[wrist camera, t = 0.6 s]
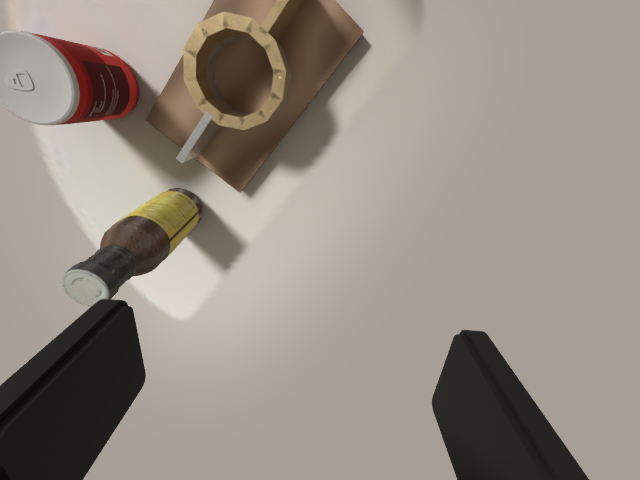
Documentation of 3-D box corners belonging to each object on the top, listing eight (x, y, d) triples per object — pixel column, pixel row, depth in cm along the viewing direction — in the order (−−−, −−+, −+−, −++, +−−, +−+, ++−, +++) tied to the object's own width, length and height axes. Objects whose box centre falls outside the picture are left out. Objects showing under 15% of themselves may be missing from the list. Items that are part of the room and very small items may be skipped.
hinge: (164, 125, 38) (137, 130, 32) (270, -53, 30) (258, -86, 25) (231, 177, 40) (216, 189, 35) (343, 25, 33) (347, 11, 27)
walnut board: (152, 119, 39) (145, 120, 37) (263, -73, 31) (260, -81, 29) (242, 189, 42) (239, 192, 41) (362, 34, 34) (363, 31, 33)
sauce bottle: (156, 185, 42) (32, 251, 24) (201, 187, 42) (109, 253, 24) (165, 228, 45) (59, 314, 27) (207, 229, 45) (129, 317, 27)
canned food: (60, 64, 36) (-40, 52, 26) (115, 36, 35) (32, 12, 25) (101, 128, 39) (25, 138, 29) (153, 104, 38) (92, 107, 28)
